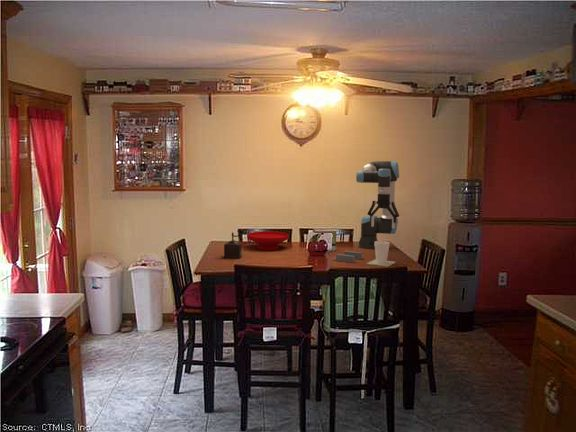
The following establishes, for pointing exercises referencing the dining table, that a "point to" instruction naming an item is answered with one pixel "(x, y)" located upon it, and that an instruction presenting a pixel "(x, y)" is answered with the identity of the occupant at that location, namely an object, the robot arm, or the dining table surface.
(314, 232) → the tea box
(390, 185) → the robot arm
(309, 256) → the dining table surface
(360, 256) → the clamp
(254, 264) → the dining table surface
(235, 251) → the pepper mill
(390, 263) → the pad
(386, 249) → the foam cup
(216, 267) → the dining table surface
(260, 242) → the bowl
